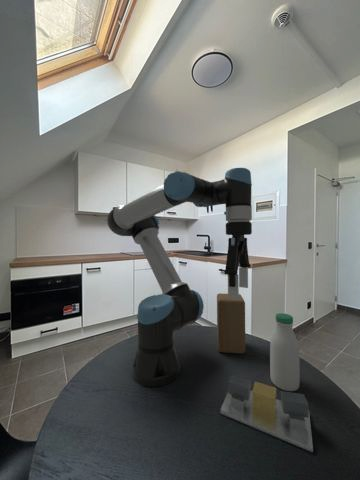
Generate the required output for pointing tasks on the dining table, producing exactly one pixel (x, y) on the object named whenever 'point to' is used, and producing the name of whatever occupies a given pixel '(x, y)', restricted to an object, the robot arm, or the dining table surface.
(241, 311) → the wooden block
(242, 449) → the dining table surface
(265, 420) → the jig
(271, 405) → the gold cube-like block
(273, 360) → the milk bottle
